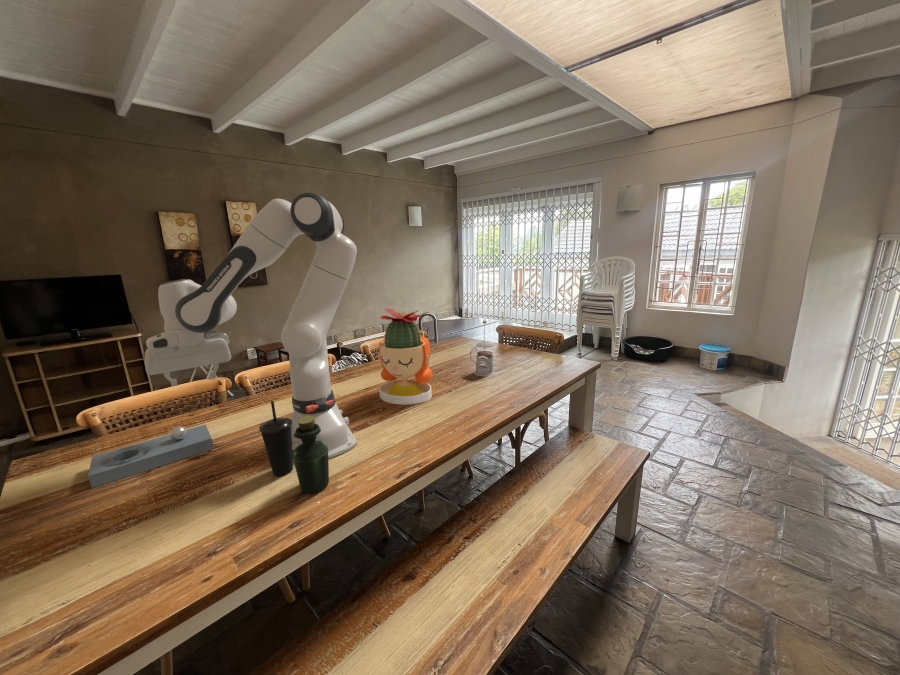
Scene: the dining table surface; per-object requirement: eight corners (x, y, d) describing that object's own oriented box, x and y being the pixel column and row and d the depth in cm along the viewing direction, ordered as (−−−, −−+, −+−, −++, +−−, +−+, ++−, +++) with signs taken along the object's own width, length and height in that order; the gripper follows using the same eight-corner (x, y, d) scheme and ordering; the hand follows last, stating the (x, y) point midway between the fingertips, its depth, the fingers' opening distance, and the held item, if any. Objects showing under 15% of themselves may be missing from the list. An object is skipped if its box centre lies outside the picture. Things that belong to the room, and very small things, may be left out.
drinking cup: (278, 483, 88) (266, 410, 83) (261, 474, 92) (248, 403, 87) (304, 467, 94) (295, 399, 89) (287, 459, 98) (277, 393, 93)
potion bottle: (336, 474, 91) (328, 411, 86) (326, 496, 83) (317, 427, 78) (304, 476, 91) (295, 412, 86) (291, 497, 83) (281, 428, 78)
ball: (189, 439, 103) (186, 427, 102) (172, 444, 101) (169, 431, 100) (187, 434, 106) (185, 422, 105) (171, 439, 104) (168, 426, 103)
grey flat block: (207, 434, 113) (205, 424, 112) (213, 448, 104) (211, 438, 103) (95, 467, 96) (92, 456, 96) (91, 488, 88) (87, 476, 87)
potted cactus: (422, 407, 129) (418, 314, 120) (369, 400, 136) (362, 311, 127) (442, 386, 148) (439, 304, 140) (395, 381, 155) (390, 303, 147)
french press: (496, 376, 158) (496, 322, 152) (470, 376, 158) (470, 322, 152) (493, 369, 168) (494, 318, 162) (469, 369, 168) (469, 318, 162)
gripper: (225, 329, 109) (232, 371, 112) (139, 340, 96) (150, 387, 99) (229, 332, 105) (236, 376, 108) (139, 344, 92) (150, 393, 95)
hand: (194, 381), depth 104 cm, fingers open, 8 cm apart
